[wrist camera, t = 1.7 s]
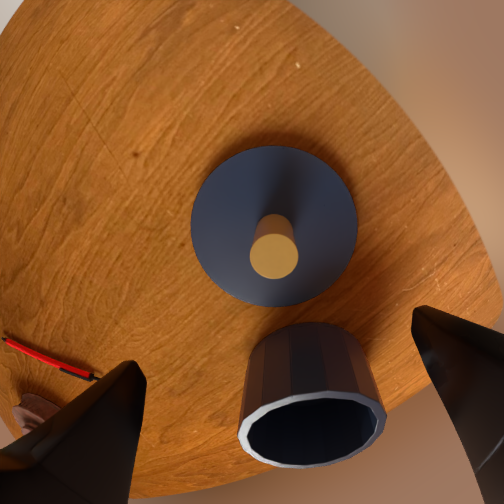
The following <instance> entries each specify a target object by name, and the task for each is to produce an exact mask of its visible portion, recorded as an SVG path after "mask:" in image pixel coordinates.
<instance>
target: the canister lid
mask: <svg viewBox="0 0 504 504" xmlns="http://www.w3.org/2000/svg"><path fill="white" fill-rule="evenodd" d="M191 237H192V242H193V247H194V250H195V253H196V256H197V258H198V260H199V262H200V264H201V266H202V267H203V269H204V270H205V272H206V273H207V275H208V276H209V277H210V278H211V279H212V281H214V282H215V283H216V284H217V285H218V286H219V287H220V288H221V289H223V290H224V291H225V292H227V293H228V294H230V295H232V296H233V297H235V298H237V299H239V300H242V301H244V302H247V303H250V304H254V305H259V306H265V307H283V306H290V305H295V304H298V303H302V302H305V301H307V300H309V299H311V298H314V297H315V296H317V295H319V294H320V293H322V292H324V291H325V290H326V289H327V288H329V287H330V286H331V285H332V284H333V283H334V282H335V281H336V280H337V279H338V278H339V277H340V275H341V274H342V273H343V271H344V270H345V268H346V266H347V265H348V263H349V261H350V259H351V256H352V254H353V251H354V248H355V244H356V238H357V215H356V209H355V206H354V202H353V199H352V197H351V194H350V192H349V190H348V188H347V187H346V185H345V183H344V182H343V180H342V179H341V178H340V177H339V175H338V174H337V173H336V172H335V171H334V170H333V169H332V168H331V167H330V166H329V165H328V164H326V163H325V162H324V161H322V160H321V159H319V158H318V157H316V156H314V155H312V154H310V153H308V152H305V151H302V150H299V149H296V148H292V147H286V146H272V145H271V146H261V147H256V148H252V149H248V150H245V151H243V152H240V153H238V154H236V155H234V156H232V157H230V158H229V159H227V160H225V161H224V162H223V163H222V164H220V165H219V166H218V167H217V168H216V169H215V170H214V171H213V172H212V173H211V174H210V175H209V176H208V178H207V179H206V180H205V182H204V183H203V185H202V186H201V188H200V190H199V192H198V194H197V197H196V199H195V202H194V205H193V210H192V215H191Z"/></svg>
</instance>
